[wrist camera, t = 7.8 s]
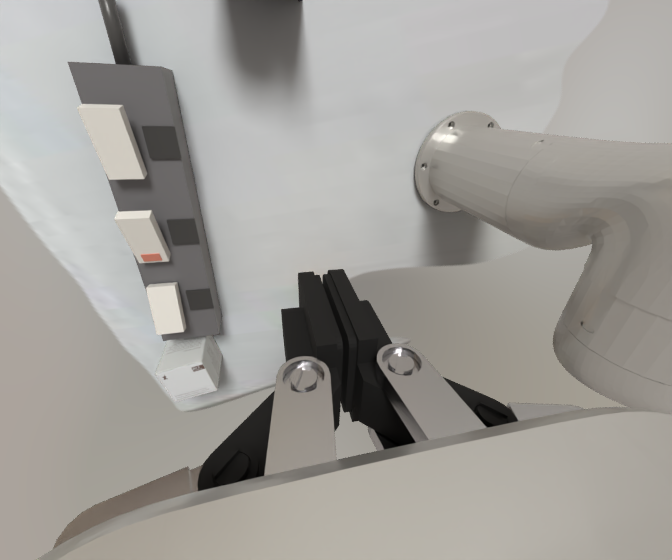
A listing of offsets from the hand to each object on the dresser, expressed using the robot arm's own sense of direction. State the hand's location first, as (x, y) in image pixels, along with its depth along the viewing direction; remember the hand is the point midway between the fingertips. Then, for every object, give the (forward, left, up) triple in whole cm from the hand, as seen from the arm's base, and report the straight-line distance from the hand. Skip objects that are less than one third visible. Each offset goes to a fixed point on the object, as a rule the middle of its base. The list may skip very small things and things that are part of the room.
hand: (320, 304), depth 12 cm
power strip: (+13, +3, -29) cm, 32 cm away
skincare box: (+14, +26, -29) cm, 42 cm away
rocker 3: (+14, +15, -24) cm, 31 cm away
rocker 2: (+14, +6, -24) cm, 28 cm away
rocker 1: (+14, -3, -24) cm, 28 cm away
